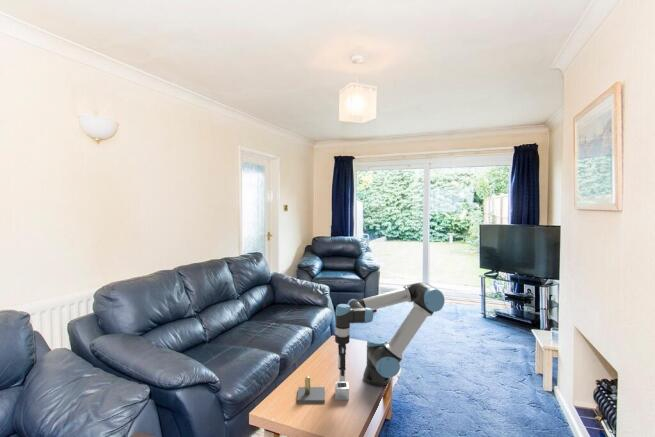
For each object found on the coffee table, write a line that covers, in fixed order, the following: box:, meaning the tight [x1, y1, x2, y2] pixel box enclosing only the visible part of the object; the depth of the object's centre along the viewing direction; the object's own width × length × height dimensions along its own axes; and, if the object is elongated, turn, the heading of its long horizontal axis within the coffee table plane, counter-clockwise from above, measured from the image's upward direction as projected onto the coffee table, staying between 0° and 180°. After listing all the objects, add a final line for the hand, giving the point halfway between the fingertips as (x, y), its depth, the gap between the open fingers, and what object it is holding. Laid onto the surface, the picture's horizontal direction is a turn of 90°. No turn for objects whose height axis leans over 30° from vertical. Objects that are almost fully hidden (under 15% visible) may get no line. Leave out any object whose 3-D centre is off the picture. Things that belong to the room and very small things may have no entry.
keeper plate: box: [296, 386, 326, 404], centre depth 179 cm, size 14×12×2 cm
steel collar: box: [334, 380, 350, 401], centre depth 179 cm, size 7×7×6 cm
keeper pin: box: [304, 376, 311, 395], centre depth 178 cm, size 3×3×9 cm
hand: (341, 374), depth 178 cm, fingers open, 13 cm apart
